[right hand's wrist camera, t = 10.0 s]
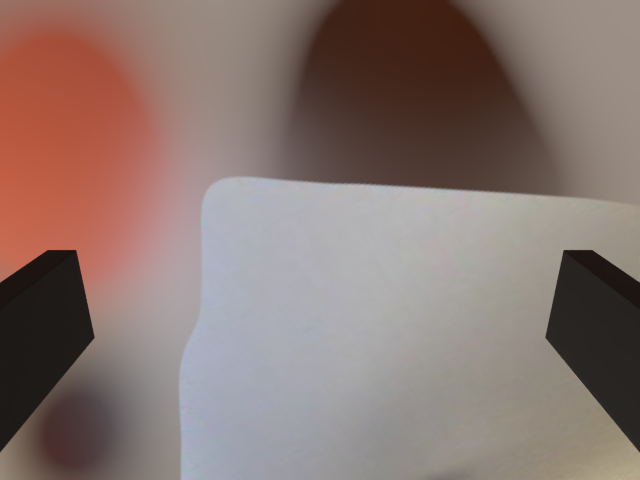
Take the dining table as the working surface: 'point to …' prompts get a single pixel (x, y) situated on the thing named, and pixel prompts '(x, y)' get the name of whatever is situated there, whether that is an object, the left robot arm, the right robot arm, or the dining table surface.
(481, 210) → the dining table surface
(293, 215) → the dining table surface
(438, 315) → the dining table surface
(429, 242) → the dining table surface
